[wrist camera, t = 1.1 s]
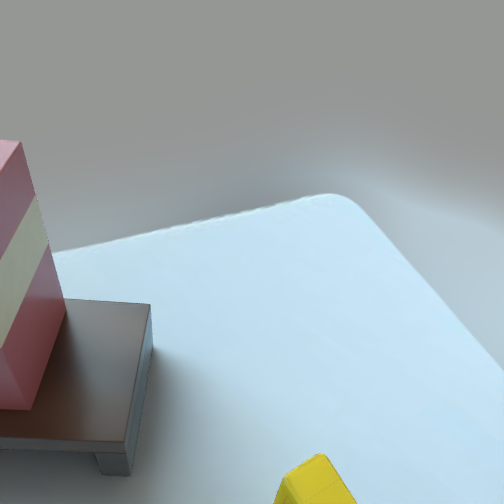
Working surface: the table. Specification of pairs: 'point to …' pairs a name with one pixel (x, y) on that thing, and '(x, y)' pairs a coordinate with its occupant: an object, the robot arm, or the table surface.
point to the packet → (24, 284)
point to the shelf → (90, 386)
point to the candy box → (313, 484)
